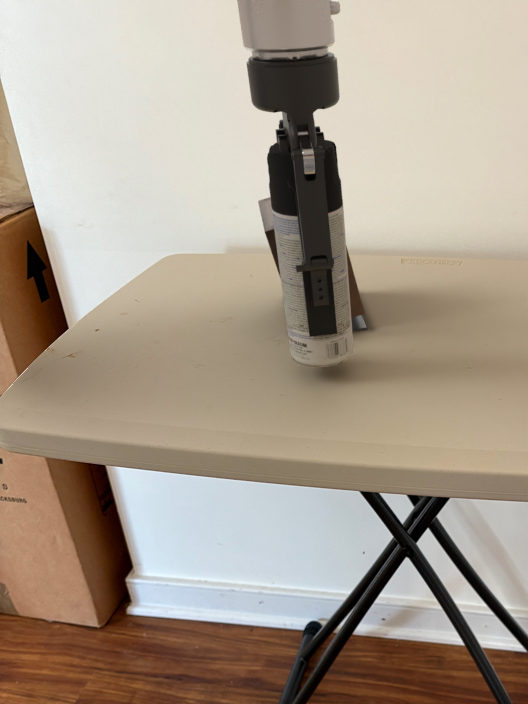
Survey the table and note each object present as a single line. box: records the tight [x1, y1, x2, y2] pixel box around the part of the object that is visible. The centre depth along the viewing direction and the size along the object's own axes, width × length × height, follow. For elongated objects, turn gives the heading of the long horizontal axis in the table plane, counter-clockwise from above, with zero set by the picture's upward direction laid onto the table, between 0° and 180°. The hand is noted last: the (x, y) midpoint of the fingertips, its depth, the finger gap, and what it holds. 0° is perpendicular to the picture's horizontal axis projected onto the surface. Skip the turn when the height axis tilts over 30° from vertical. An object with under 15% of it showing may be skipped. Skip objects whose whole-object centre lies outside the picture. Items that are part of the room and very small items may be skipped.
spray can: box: [266, 139, 354, 368], centre depth 73 cm, size 7×7×20 cm
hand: (318, 318), depth 77 cm, fingers closed on spray can, 7 cm apart
